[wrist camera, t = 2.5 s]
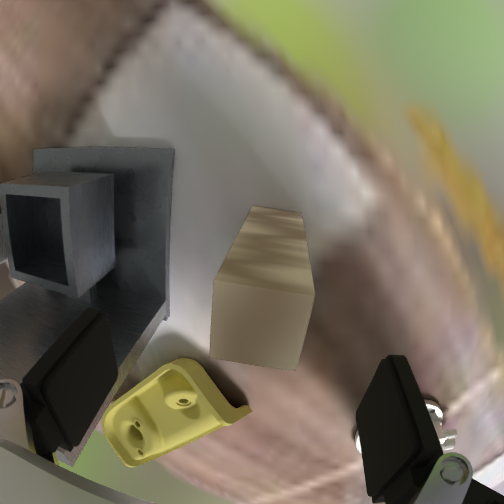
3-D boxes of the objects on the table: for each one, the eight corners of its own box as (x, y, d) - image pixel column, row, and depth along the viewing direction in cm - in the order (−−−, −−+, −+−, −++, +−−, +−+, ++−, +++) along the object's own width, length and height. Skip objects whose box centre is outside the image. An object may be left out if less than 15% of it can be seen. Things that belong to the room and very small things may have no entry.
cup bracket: (174, 149, 24) (-23, 190, 6) (169, 315, 30) (76, 472, 12) (39, 148, 25) (-115, 187, 7) (50, 285, 31) (-59, 377, 13)
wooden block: (301, 212, 25) (315, 295, 12) (293, 258, 26) (295, 370, 13) (252, 205, 25) (213, 280, 12) (247, 251, 27) (209, 357, 14)
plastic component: (175, 355, 29) (234, 435, 26) (210, 340, 36) (259, 406, 33) (92, 417, 34) (133, 476, 31) (125, 402, 41) (162, 454, 38)
